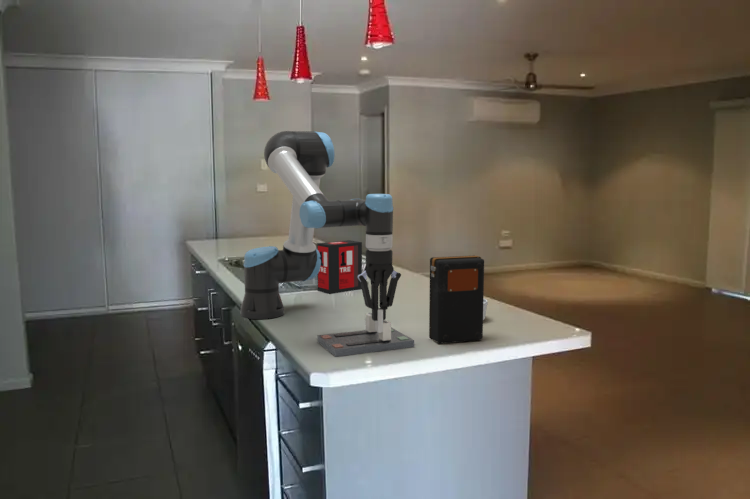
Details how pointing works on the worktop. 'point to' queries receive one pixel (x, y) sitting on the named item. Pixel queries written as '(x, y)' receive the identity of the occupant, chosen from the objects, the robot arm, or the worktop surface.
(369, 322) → the block
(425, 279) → the worktop surface
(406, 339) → the breaker panel
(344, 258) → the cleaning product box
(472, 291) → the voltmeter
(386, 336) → the block
